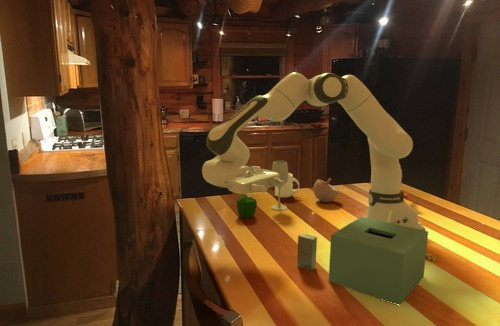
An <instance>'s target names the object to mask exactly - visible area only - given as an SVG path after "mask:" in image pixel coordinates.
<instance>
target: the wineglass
mask: <svg viewBox="0 0 500 326" xmlns="http://www.w3.org/2000/svg"><path fill="white" fill-rule="evenodd" d="M271 171H273V172H276V173H278V174H279V175H280V180H282V181H285V184H286V183H287V181H288V173H289V165H288V162H287V161H285V160H274V161H273V162H272V166H271ZM276 186H277V187H278V189H279V197H278V204H274V205H271V207H270V209H271V210H274V211H286V210H287V209H288V206H286V205H283V204H281V197H280V190H281V187H279V186H278V185H276Z"/></svg>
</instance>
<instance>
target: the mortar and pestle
mask: <svg viewBox="0 0 500 326" xmlns="http://www.w3.org/2000/svg"><path fill="white" fill-rule="evenodd" d="M331 181H332V178H331V177H329V178H327V180H326V181H324V180H322V179H317V180H316V181H315V183H314V185H313V187H312V190H313V194H314V196H315V198H316V199H317V200H319V201H320V202H323V203H331V202H333V201H335V200H336V199H337V198H338V196H339V194H340V189H339V188H337V187H335V186H334V185H332V184H330V182H331Z"/></svg>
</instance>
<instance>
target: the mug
mask: <svg viewBox="0 0 500 326" xmlns="http://www.w3.org/2000/svg"><path fill="white" fill-rule="evenodd" d="M293 182H295V183H296V184H297V185H298V187H297V188H296V190H295V189H293V185H294V184H293ZM299 189H300V182H299V181H298V179H297V178H295V177H294V175H293V173H290V172H288V181H287V183H286V184H285V186H283V187H281V190H280V198H283V199H284V198H291V197H292V196H293V194H296V193H298V191H299ZM274 194H275V196H276V197H277V198H279V189H278V187H277V186H276V185H274Z"/></svg>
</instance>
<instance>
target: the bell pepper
mask: <svg viewBox="0 0 500 326" xmlns="http://www.w3.org/2000/svg"><path fill="white" fill-rule="evenodd" d="M239 195H240V198H239V197H238V198H237V199H236V209H237V212H238V213H237V214H238V215H239V217H240V218H242V219H243V218H244V219H245V218H247V219H252V218H253V217H254V216H255V214H256V210H257V204H258V203H257V202H258V201H257V200H256V198H254V197H253V196H248V195H247V194H244V195H242V194H239Z"/></svg>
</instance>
